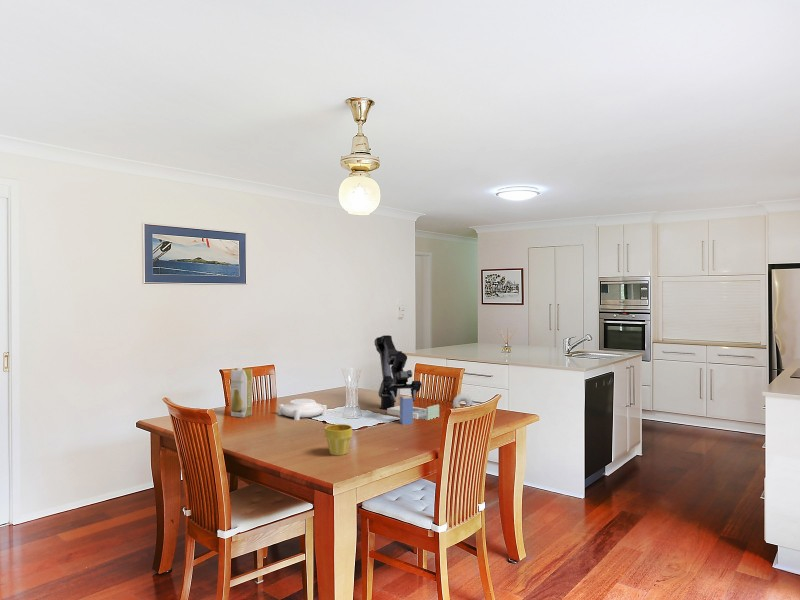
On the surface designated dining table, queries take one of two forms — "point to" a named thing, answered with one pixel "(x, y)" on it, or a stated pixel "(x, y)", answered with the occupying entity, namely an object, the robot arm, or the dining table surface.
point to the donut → (462, 398)
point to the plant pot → (338, 438)
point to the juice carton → (241, 392)
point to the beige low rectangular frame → (397, 411)
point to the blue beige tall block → (406, 410)
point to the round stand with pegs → (302, 408)
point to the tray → (428, 412)
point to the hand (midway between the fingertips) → (404, 401)
